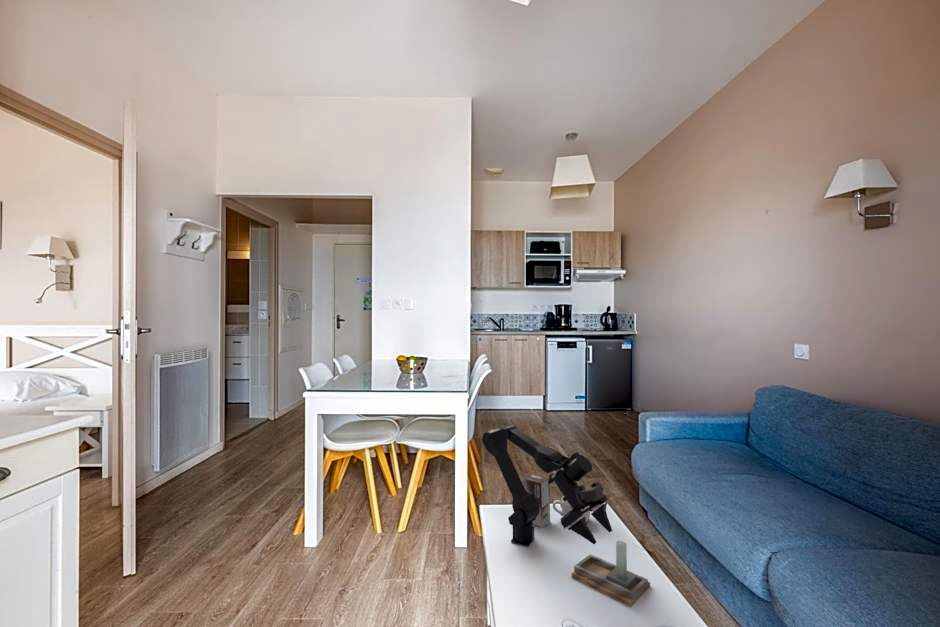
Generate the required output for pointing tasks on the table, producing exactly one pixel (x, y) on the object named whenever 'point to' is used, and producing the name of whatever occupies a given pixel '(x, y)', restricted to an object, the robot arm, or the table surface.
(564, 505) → the teacup
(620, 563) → the fader knob
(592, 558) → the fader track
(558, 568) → the table surface
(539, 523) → the coffee box
